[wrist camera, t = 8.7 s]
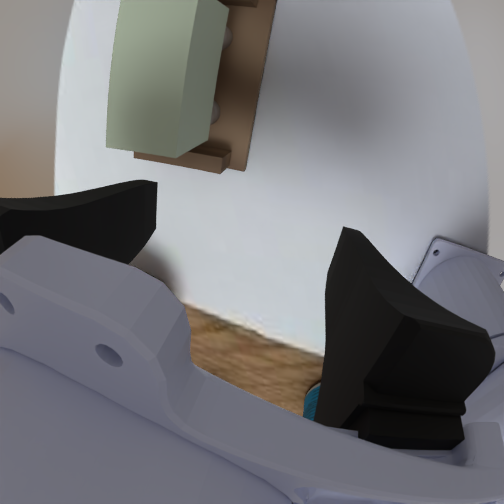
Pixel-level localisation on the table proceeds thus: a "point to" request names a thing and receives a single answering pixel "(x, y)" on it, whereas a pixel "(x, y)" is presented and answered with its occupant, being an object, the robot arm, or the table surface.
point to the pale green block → (164, 75)
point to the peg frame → (232, 90)
